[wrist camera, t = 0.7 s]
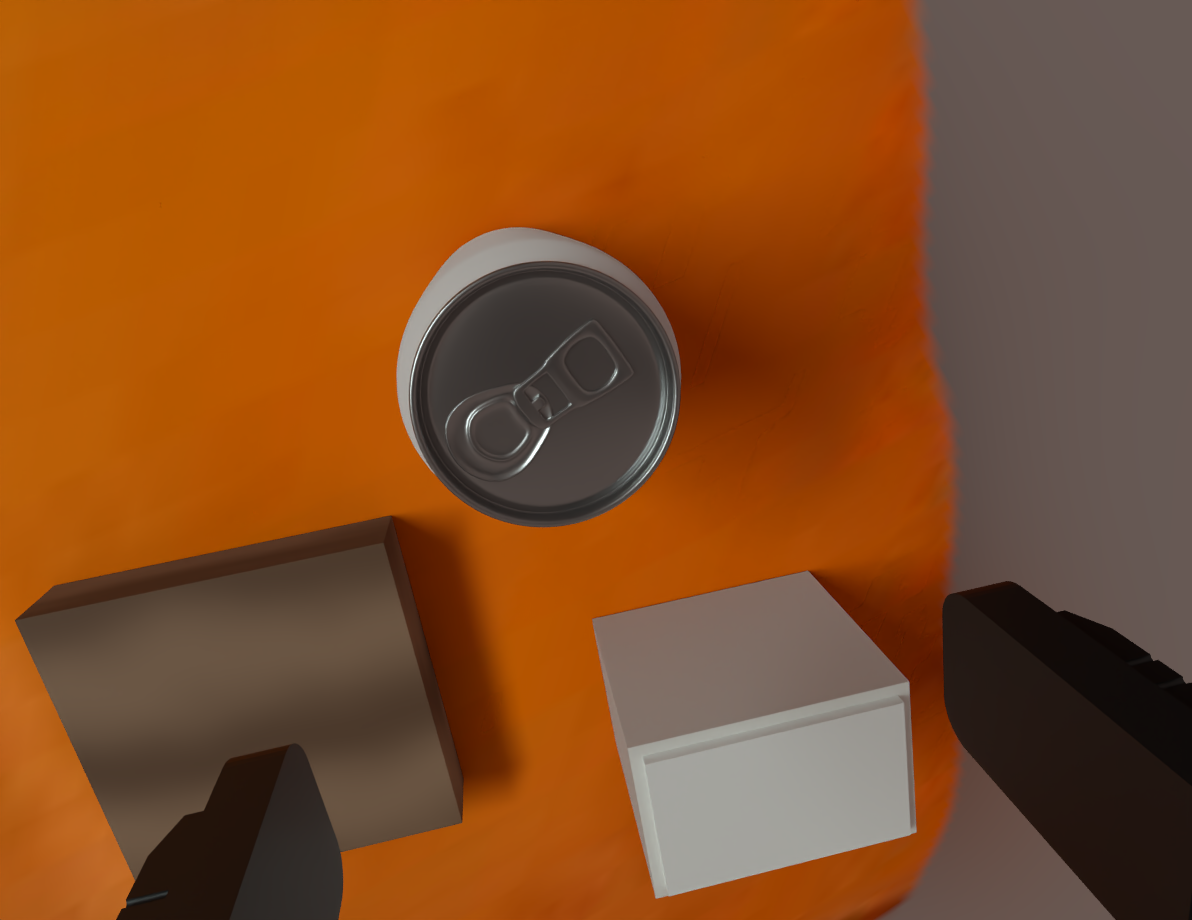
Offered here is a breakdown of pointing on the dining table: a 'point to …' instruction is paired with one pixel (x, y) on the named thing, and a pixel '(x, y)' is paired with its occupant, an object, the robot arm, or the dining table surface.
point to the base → (252, 683)
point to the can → (539, 378)
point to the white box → (755, 731)
